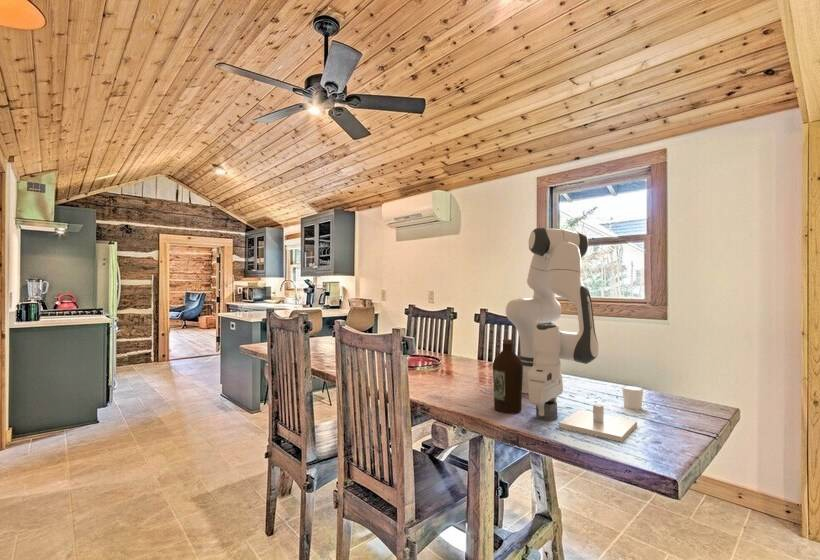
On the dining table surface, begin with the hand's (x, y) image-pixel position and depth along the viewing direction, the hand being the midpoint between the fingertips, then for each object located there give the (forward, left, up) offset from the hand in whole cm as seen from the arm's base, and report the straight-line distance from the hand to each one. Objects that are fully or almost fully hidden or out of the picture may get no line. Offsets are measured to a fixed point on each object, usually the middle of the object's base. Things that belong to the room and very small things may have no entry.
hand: (547, 412), depth 138 cm
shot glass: (+19, +32, -2) cm, 37 cm away
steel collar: (0, 0, -2) cm, 2 cm away
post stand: (+16, +2, -2) cm, 16 cm away
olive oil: (-14, -1, -2) cm, 14 cm away
